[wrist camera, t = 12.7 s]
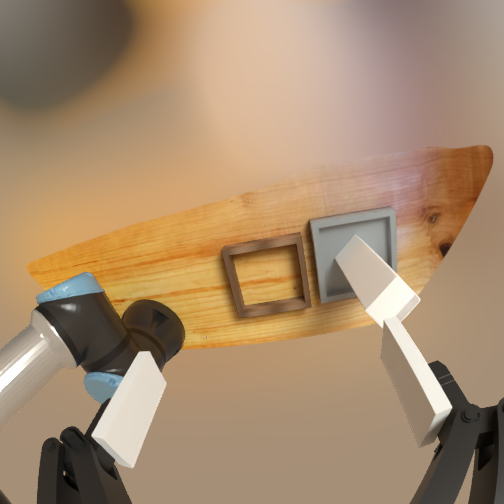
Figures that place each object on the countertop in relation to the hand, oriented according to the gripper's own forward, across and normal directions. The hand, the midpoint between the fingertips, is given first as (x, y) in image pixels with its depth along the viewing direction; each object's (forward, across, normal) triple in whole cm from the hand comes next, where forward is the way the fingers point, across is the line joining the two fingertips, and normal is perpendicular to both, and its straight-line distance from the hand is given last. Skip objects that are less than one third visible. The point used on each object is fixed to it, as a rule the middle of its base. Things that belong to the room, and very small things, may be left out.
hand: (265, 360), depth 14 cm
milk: (+36, +15, -10) cm, 40 cm away
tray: (+37, +15, -10) cm, 41 cm away
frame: (+37, -2, -11) cm, 38 cm away
